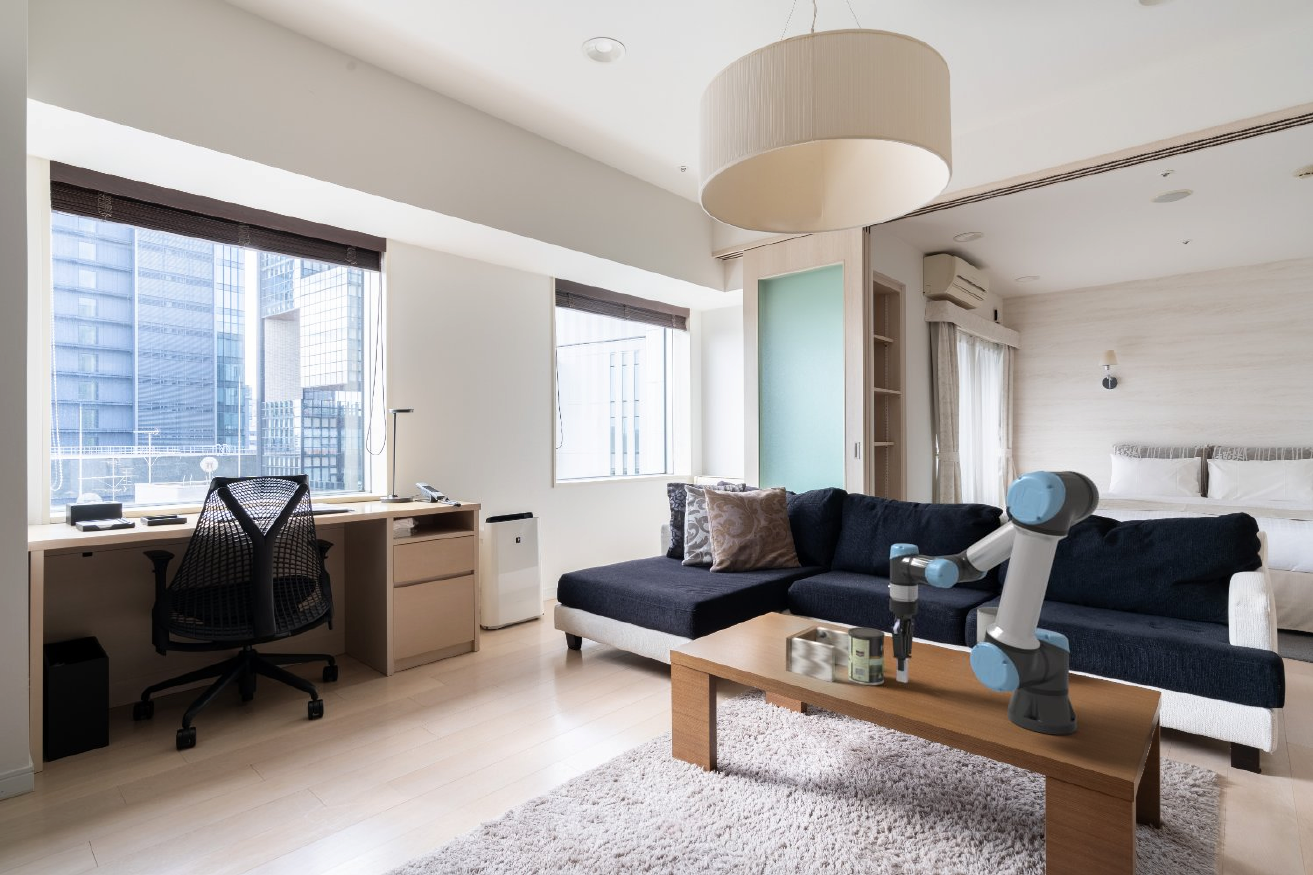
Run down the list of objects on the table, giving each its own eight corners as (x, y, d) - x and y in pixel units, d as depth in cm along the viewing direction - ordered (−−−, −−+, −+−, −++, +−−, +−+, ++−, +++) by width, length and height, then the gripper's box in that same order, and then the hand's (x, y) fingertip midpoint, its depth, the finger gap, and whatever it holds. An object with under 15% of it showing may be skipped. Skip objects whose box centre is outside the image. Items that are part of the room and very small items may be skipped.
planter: (979, 659, 217) (979, 605, 218) (1024, 667, 211) (1024, 610, 211) (974, 671, 206) (975, 613, 206) (1022, 679, 200) (1023, 619, 200)
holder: (857, 666, 209) (857, 634, 209) (831, 681, 196) (831, 647, 196) (813, 656, 219) (813, 625, 219) (785, 670, 205) (786, 637, 205)
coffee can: (881, 674, 202) (882, 628, 202) (886, 686, 192) (886, 637, 192) (846, 672, 204) (846, 625, 204) (849, 683, 194) (849, 635, 194)
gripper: (898, 592, 199) (897, 671, 199) (881, 600, 189) (880, 683, 189) (924, 596, 194) (923, 678, 194) (908, 604, 184) (907, 690, 184)
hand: (902, 680), depth 191 cm, fingers closed
